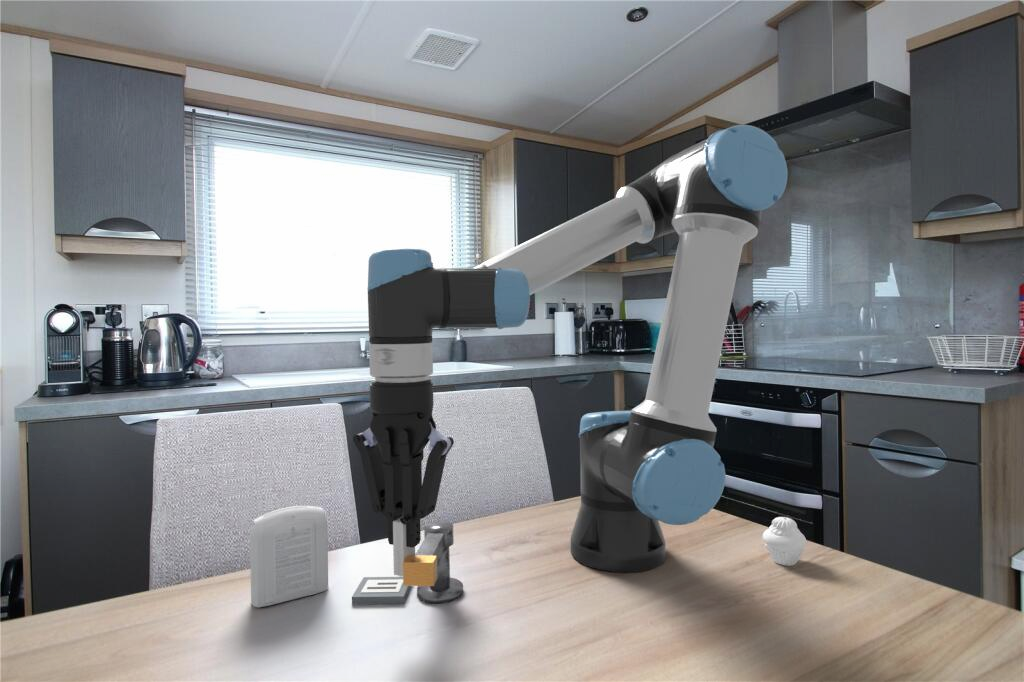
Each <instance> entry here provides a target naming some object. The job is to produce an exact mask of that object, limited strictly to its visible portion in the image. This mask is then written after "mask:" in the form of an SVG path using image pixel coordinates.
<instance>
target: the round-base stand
mask: <svg viewBox="0 0 1024 682" xmlns="http://www.w3.org/2000/svg"><path fill="white" fill-rule="evenodd" d="M450 554H451V553H450V547H447V548H444V549H443V551H442V554H441V556H440V558H439V560H438V562H437V580H436V582H435V584H434V586H416V596H417V599H419V601H421V602H423V603H426V604H432V605H442V604H443V605H444V604H448V603H451V602H454V601H456V600H458V599H459V598H461V597H462V596H463V595H464V583H463V582H462V581H461V580H460V579H458V578H455V577H451V568H450V567H451V566H450V564H451V563H450V562H451V561H450Z"/></svg>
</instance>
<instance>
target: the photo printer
mask: <svg viewBox="0 0 1024 682" xmlns="http://www.w3.org/2000/svg"><path fill="white" fill-rule="evenodd" d="M328 534H329V533H328V519H327V516H326V511H325V509H323V507H321V506H314V505H294V506H287V507H282V508H277V509H275V510H272V511H269V512H267V513H264V514H262V515H260V516H257V517H256V518H254V519H253V520H252V522H251V529H250V533H249V549H250V551H249V552H250V553H249V556H250V557H249V558H250V561H249V562H250V567H249V568H250V603H251V604H250V605H252V607H254V608H263V607H269V606H272V605H276V604H280V603H281V604H282V603H284V602H288V601H292V600H296V599H300V598H304V597H307V596H312V595H315V594H319V593H322V592H326V591H327V590H328V588H329V548H328V546H329V544H328V542H329V538H328Z"/></svg>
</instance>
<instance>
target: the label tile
mask: <svg viewBox="0 0 1024 682" xmlns="http://www.w3.org/2000/svg"><path fill="white" fill-rule="evenodd" d="M411 587H412V586H404V585H403V576H364V577H362V579H361V581H360V583H359V584H358V585H357V588H356V589H355V591H354V593H353V594H352V596H351V605H394V604H395V605H397V604H398V605H400V604H401V605H402V604H405V601H406V600H407V597H408V595H409V592H410V590H411Z"/></svg>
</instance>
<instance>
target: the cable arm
mask: <svg viewBox="0 0 1024 682" xmlns="http://www.w3.org/2000/svg"><path fill="white" fill-rule="evenodd" d="M423 530H424V531H423V533H424V536H423V537H424V539H423V540H422V543H421V544H420V546H419V547H418V550H417V551H416V552H415V555H408V556H407V557H406V558H405V560H404V561H403V576H402V577H403V585H404V586H411V587H418V586H434V584H435V582H436V580H437V562H438V560H439V558H440V556H441V554H442V551H443V549H444V548H447V547H449V548H450V547H452V546H453V545H454V543H455V542H454V541H455V540H454V538H455V537H454V524H453V523H452V522H449V521H445V520H439V521H437V520H436V521H433V522H429V523H426V524H425V525H424V529H423Z"/></svg>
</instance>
